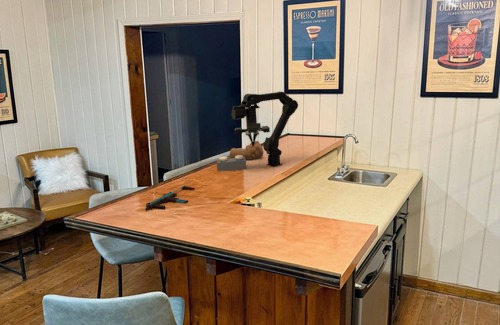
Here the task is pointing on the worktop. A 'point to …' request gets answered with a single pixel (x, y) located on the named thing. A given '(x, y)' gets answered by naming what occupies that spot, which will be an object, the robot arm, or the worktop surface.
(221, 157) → the knob
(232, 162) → the knob mount
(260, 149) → the brown rough lump
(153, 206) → the gun
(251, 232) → the worktop surface
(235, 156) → the knob
